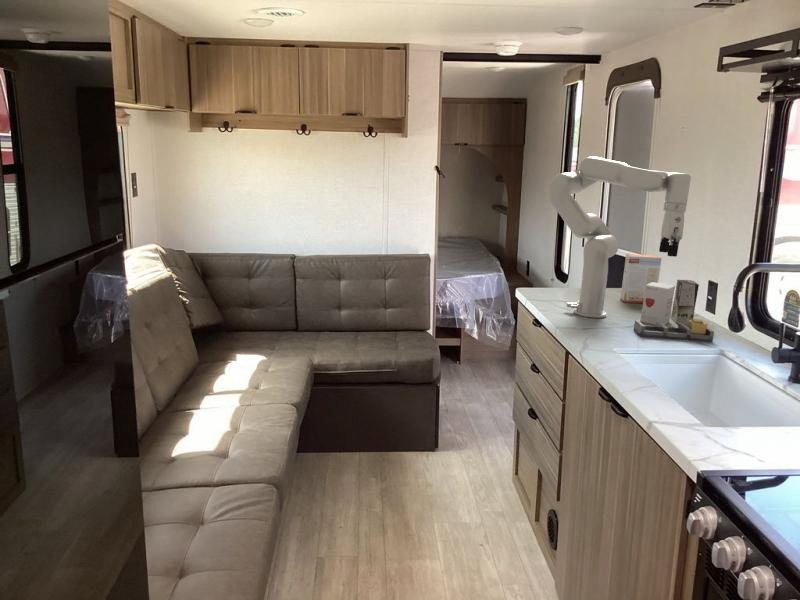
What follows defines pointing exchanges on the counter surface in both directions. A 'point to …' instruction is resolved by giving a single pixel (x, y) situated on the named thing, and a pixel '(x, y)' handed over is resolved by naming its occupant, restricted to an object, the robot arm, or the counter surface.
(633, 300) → the cracker box
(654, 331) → the grey compartment tray
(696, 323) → the cage nut
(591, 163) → the robot arm
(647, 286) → the supplement box
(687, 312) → the coffee box
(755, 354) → the counter surface
